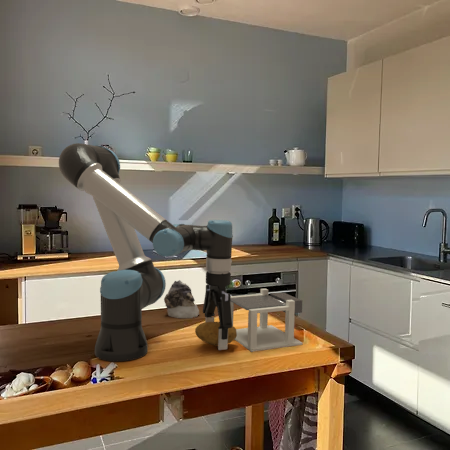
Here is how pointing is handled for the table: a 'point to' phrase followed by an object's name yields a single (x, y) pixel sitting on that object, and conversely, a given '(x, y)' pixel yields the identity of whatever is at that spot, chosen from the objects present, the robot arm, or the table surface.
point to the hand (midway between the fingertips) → (215, 343)
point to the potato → (213, 332)
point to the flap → (267, 301)
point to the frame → (266, 327)
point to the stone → (180, 301)
